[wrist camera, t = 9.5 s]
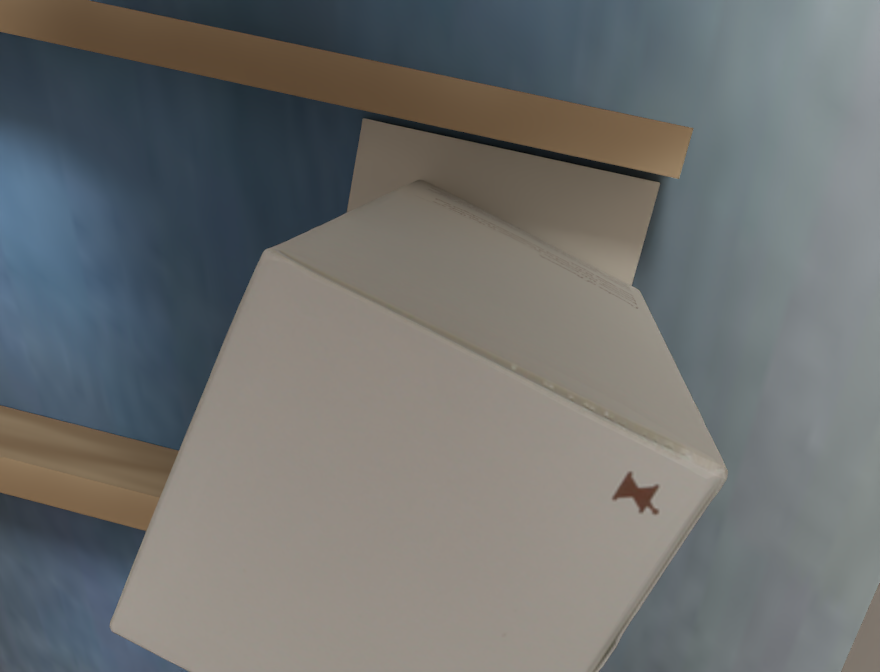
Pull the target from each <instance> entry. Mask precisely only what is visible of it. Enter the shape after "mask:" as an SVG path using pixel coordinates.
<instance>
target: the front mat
mask: <svg viewBox="0 0 880 672" xmlns="http://www.w3.org/2000/svg"><path fill="white" fill-rule="evenodd" d="M416 180H424V181H426V182H428V183H430V184H432V185H434V186H436V187H439V188H441V189H443V190H445V191H447V192H449V193H451V194H453V195H455V196H457V197H459V198H461V199H463V200H465V201H466V202H468V203H470V204H472V205H474V206H476V207H478V208H480V209H482V210H484V211H486V212H488V213H490V214H492V215H494V216H496V217H498V218H500V219H502V220H503V221H505V222H507V223H509V224H511V225H513V226H515V227H517V228H519V229H521V230H523V231H525V232H527V233H529V234H531V235H533V236H535V237H537V238H539V239H540V240H542V241H544V242H546V243H548V244H550V245H552V246H554V247H556V248H558V249H560V250H562V251H564V252H566V253H568V254H570V255H572V256H573V257H575V258H577V259H579V260H581V261H583V262H585V263H587V264H589V265H591V266H593V267H595V268H597V269H599V270H601V271H603V272H605V273H607V274H609V275H611V276H612V277H614V278H616V279H618V280H620V281H622V282H624V283H626V284H628V285H630V286H632V283H633V279H634V275H635V272H636V268H637V265H638V261H639V258H640V254H641V250H642V247H643V243H644V240H645V236H646V233H647V229H648V225H649V222H650V218H651V215H652V211H653V208H654V204H655V200H656V197H657V193H658V190H659V186H660V183H659V182H655V181H650V180H646V179H641V178H637V177H632V176H627V175H623V174H618V173H614V172H609V171H604V170H600V169H595V168H591V167H586V166H581V165H577V164H572V163H568V162H563V161H558V160H554V159H549V158H545V157H540V156H535V155H531V154H526V153H522V152H517V151H512V150H508V149H503V148H499V147H494V146H489V145H485V144H480V143H476V142H471V141H466V140H462V139H457V138H453V137H448V136H443V135H439V134H434V133H430V132H425V131H420V130H416V129H411V128H407V127H402V126H398V125H393V124H388V123H384V122H379V121H375V120H370V119H365V118H363V120H362V126H361V132H360V138H359V144H358V150H357V155H356V161H355V167H354V173H353V179H352V185H351V190H350V196H349V202H348V208H347V213H348V212H350V211H352V210H354V209H356V208H358V207H361V206H363V205H365V204H367V203H369V202H371V201H373V200H375V199H378V198H380V197H382V196H384V195H386V194H388V193H391V192H392V191H394V190H396V189H399V188H401V187H403V186H405V185H408V184H410V183H412V182H414V181H416Z"/></svg>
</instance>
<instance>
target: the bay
mask: <svg viewBox="0 0 880 672" xmlns="http://www.w3.org/2000/svg"><path fill="white" fill-rule="evenodd" d="M0 32H4V33H9V34H13V35H18V36H22V37H27V38H32V39H36V40H41V41H45V42H50V43H55V44H59V45H64V46H68V47H73V48H78V49H82V50H87V51H92V52H96V53H101V54H105V55H110V56H115V57H119V58H124V59H128V60H133V61H138V62H142V63H147V64H151V65H156V66H161V67H165V68H170V69H175V70H179V71H184V72H188V73H193V74H198V75H202V76H207V77H211V78H216V79H221V80H225V81H230V82H235V83H239V84H244V85H248V86H253V87H258V88H262V89H267V90H271V91H276V92H281V93H285V94H290V95H294V96H299V97H304V98H308V99H313V100H318V101H322V102H327V103H331V104H336V105H341V106H345V107H350V108H354V109H359V110H364V111H368V112H373V113H378V114H382V115H387V116H391V117H396V118H401V119H405V120H410V121H414V122H419V123H424V124H428V125H433V126H437V127H442V128H447V129H451V130H456V131H461V132H465V133H470V134H474V135H479V136H484V137H488V138H493V139H497V140H502V141H507V142H511V143H516V144H520V145H525V146H530V147H534V148H539V149H544V150H548V151H553V152H557V153H562V154H567V155H571V156H576V157H580V158H585V159H590V160H594V161H599V162H604V163H608V164H613V165H617V166H622V167H627V168H631V169H636V170H640V171H645V172H650V173H654V174H659V175H663V176H668V177H673V178H677V179H679V177H680V173H681V170H682V166H683V163H684V159H685V156H686V152H687V149H688V145H689V142H690V138H691V135H692V131H693V128H689V127H685V126H680V125H675V124H670V123H666V122H661V121H656V120H652V119H647V118H642V117H637V116H633V115H628V114H623V113H618V112H614V111H609V110H604V109H600V108H595V107H590V106H585V105H581V104H576V103H571V102H566V101H562V100H557V99H552V98H548V97H543V96H538V95H533V94H529V93H524V92H519V91H515V90H510V89H505V88H500V87H496V86H491V85H486V84H481V83H477V82H472V81H467V80H463V79H458V78H453V77H448V76H444V75H439V74H434V73H429V72H425V71H420V70H415V69H411V68H406V67H401V66H396V65H392V64H387V63H382V62H378V61H373V60H368V59H363V58H359V57H354V56H349V55H344V54H340V53H335V52H330V51H326V50H321V49H316V48H311V47H307V46H302V45H297V44H293V43H288V42H283V41H278V40H274V39H269V38H264V37H259V36H255V35H250V34H245V33H241V32H236V31H231V30H226V29H222V28H217V27H212V26H207V25H203V24H198V23H193V22H189V21H184V20H179V19H174V18H170V17H165V16H160V15H156V14H151V13H146V12H141V11H137V10H132V9H127V8H122V7H118V6H113V5H108V4H104V3H99V2H94V1H89V0H0ZM178 452H179V451H177V450H173V449H170V448H166V447H162V446H158V445H154V444H150V443H146V442H142V441H138V440H134V439H130V438H126V437H122V436H119V435H115V434H111V433H107V432H103V431H99V430H95V429H91V428H87V427H83V426H79V425H75V424H71V423H68V422H64V421H60V420H56V419H52V418H48V417H44V416H40V415H36V414H32V413H28V412H24V411H20V410H17V409H13V408H9V407H5V406H1V405H0V492H1V493H4V494H8V495H12V496H16V497H20V498H23V499H27V500H31V501H35V502H39V503H42V504H46V505H50V506H54V507H57V508H61V509H65V510H69V511H73V512H76V513H80V514H84V515H88V516H92V517H95V518H99V519H103V520H107V521H111V522H114V523H118V524H122V525H126V526H129V527H133V528H137V529H141V530H145V531H147V528H148V526H149V523H150V521H151V518H152V516H153V514H154V511H155V509H156V506H157V504H158V501H159V499H160V496H161V494H162V491H163V489H164V487H165V484H166V482H167V479H168V477H169V474H170V472H171V469H172V467H173V465H174V462H175V460H176V457H177V455H178Z"/></svg>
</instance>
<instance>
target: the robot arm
mask: <svg viewBox="0 0 880 672" xmlns="http://www.w3.org/2000/svg"><path fill="white" fill-rule="evenodd" d="M841 672H880V583H879V585H878V587H877V590H876V592H875V594H874V597H873V599H872V601H871V604H870V606H869V608H868V611H867V613H866V615H865V618H864V620H863V622H862V624H861V627H860V629H859V631H858V634H857V636H856V638H855V641H854V643H853V645H852V648H851V650H850V652H849V654H848V657H847V659H846V661H845V664H844V666H843V668H842V671H841Z"/></svg>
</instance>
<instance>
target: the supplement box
mask: <svg viewBox="0 0 880 672" xmlns="http://www.w3.org/2000/svg"><path fill="white" fill-rule="evenodd" d="M727 474H728V471H727V469H726V466H725V464H724V462H723V459H722V457H721V455H720V453H719V451H718V449H717V447H716V445H715V443H714V441H713V439H712V437H711V435H710V433H709V431H708V430H707V428H706V426H705V423H704V421H703V419H702V417H701V414H700V412H699V410H698V408H697V406H696V405H695V403H694V401H693V399H692V397H691V395H690V393H689V390H688V388H687V386H686V384H685V382H684V380H683V378H682V376H681V374H680V372H679V370H678V368H677V366H676V364H675V362H674V359H673V357H672V355H671V354H670V351H669V349H668V347H667V345H666V343H665V341H664V339H663V337H662V335H661V333H660V331H659V329H658V327H657V325H656V323H655V321H654V319H653V317H652V315H651V313H650V311H649V308H648V306H647V304H646V302H645V300H644V298H643V296H642V294H641V292H640V290H638V289H636V288H634V287H632V286H630V285H628V284H626V283H624V282H622V281H620V280H618V279H616V278H614V277H612V276H611V275H609V274H607V273H605V272H603V271H601V270H599V269H597V268H595V267H593V266H591V265H589V264H587V263H585V262H583V261H581V260H579V259H577V258H575V257H573V256H572V255H570V254H568V253H566V252H564V251H562V250H560V249H558V248H556V247H554V246H552V245H550V244H548V243H546V242H544V241H542V240H540V239H539V238H537V237H535V236H533V235H531V234H529V233H527V232H525V231H523V230H521V229H519V228H517V227H515V226H513V225H511V224H509V223H507V222H505V221H503V220H502V219H500V218H498V217H496V216H494V215H492V214H490V213H488V212H486V211H484V210H482V209H480V208H478V207H476V206H474V205H472V204H470V203H468V202H466V201H465V200H463V199H461V198H459V197H457V196H455V195H453V194H451V193H449V192H447V191H445V190H443V189H441V188H439V187H436V186H434V185H432V184H430V183H428V182H426V181H424V180H416V181H414V182H412V183H410V184H408V185H405V186H403V187H401V188H399V189H396V190H394V191H392V192H391V193H388V194H386V195H384V196H382V197H380V198H378V199H375V200H373V201H371V202H369V203H367V204H365V205H363V206H361V207H358V208H356V209H354V210H352V211H350V212H348V213H345V214H343V215H341V216H339V217H337V218H335V219H333V220H331V221H329V222H326V223H324V224H322V225H320V226H318V227H315V228H313V229H311V230H309V231H307V232H305V233H303V234H300V235H298V236H296V237H294V238H292V239H290V240H288V241H286V242H283V243H281V244H278V245H276V246H273V247H271V248H268V249H266V250H265V251H264V252H263V253H262V256H261V258H260V260H259V262H258V264H257V266H256V268H255V271H254V273H253V275H252V277H251V280H250V282H249V284H248V286H247V289H246V291H245V293H244V295H243V298H242V300H241V302H240V304H239V307H238V309H237V311H236V314H235V316H234V319H233V321H232V324H231V326H230V328H229V330H228V333H227V335H226V337H225V340H224V342H223V345H222V347H221V350H220V352H219V355H218V357H217V360H216V362H215V365H214V367H213V370H212V372H211V374H210V377H209V379H208V382H207V384H206V387H205V389H204V392H203V394H202V397H201V399H200V401H199V404H198V406H197V409H196V411H195V413H194V416H193V418H192V421H191V423H190V425H189V428H188V430H187V433H186V435H185V438H184V440H183V443H182V445H181V447H180V450H179V452H178V455H177V457H176V460H175V462H174V465H173V467H172V469H171V472H170V474H169V477H168V479H167V482H166V484H165V487H164V489H163V491H162V494H161V496H160V499H159V501H158V504H157V506H156V509H155V511H154V514H153V516H152V518H151V521H150V523H149V526H148V528H147V531H146V533H145V536H144V538H143V541H142V543H141V546H140V548H139V551H138V553H137V556H136V558H135V561H134V563H133V566H132V568H131V571H130V574H129V576H128V579H127V581H126V584H125V587H124V589H123V592H122V594H121V597H120V599H119V602H118V605H117V607H116V610H115V612H114V615H113V617H112V619H111V621H110V628H111V630H112V632H114V633H116V634H118V635H120V636H122V637H124V638H126V639H127V640H129V641H131V642H133V643H135V644H137V645H139V646H141V647H143V648H145V649H147V650H148V651H150V652H152V653H154V654H156V655H158V656H160V657H162V658H164V659H166V660H168V661H170V662H172V663H174V664H176V665H178V666H179V667H181V668H183V669H185V670H187V671H189V672H599V670H600V669H601V668H602V667H603V666H604V664H605V662H606V661H607V659H608V658H609V656H610V655H611V654H612V652H613V651H614V649H615V648H616V646H617V644H618V642H619V640H620V638H621V636H622V634H623V633H624V631H625V630H626V628H627V626H628V625H629V623H630V622H631V620H632V619H633V617H634V616H635V614H636V613H637V612H638V610H639V609H640V607H641V605H642V604H643V602H644V601H645V599H646V598H647V596H648V595H649V593H650V592H651V590H652V589H653V587H654V586H655V584H656V583H657V581H658V580H659V578H660V577H661V575H662V574H663V572H664V571H665V569H666V567H667V566H668V564H669V563H670V561H671V560H672V558H673V557H674V556H675V554H676V553H677V551H678V550H679V548H680V547H681V545H682V544H683V542H684V541H685V539H686V538H687V536H688V535H689V533H690V532H691V530H692V529H693V527H694V526H695V524H696V523H697V521H698V520H699V518H700V517H701V515H702V514H703V512H704V511H705V509H706V508H707V506H708V505H709V503H710V502H711V501H712V500H713V498H714V497H715V496H716V494H717V493H718V492H719V491H720V489H721V487H722V486H723V484H724V482H725V481H726V479H727Z"/></svg>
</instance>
